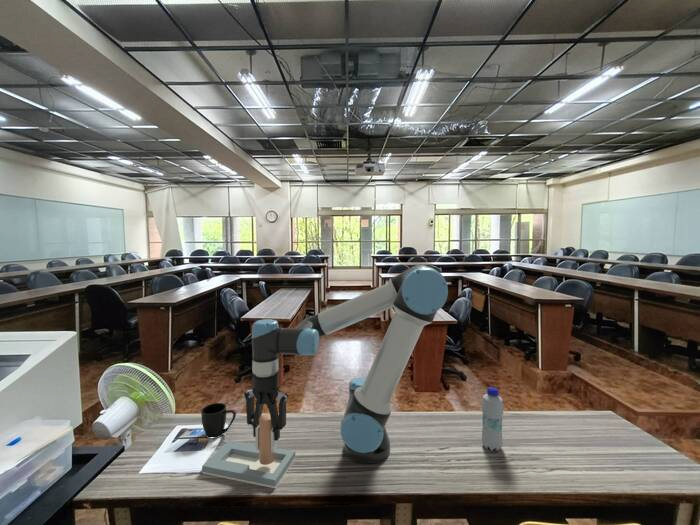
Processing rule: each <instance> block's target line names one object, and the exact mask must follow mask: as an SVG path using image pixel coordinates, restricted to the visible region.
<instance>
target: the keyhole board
mask: <svg viewBox="0 0 700 525" xmlns="http://www.w3.org/2000/svg"><path fill="white" fill-rule="evenodd" d="M274 458H275V459H274V461H273V462H272V463H271V464H268V465H263V464H261V463H260V462H259V449H258V450H256V443H255V444H253V443H248V442H243V441H237V440H236V441H235V440H228V441H227V442H226V443H224V444H223V445H222V447H220V448H219V449H218V450H217V451H216V452H215V453H214V454H213V455H212V456H211V457H210V458H209V459H208V460H207V461H205V462H204V463H203V465H202V466H201V467H202V468H201V470H202V472H201V474H203V475H207V476H208V475H209V476H214V477H217V478H223V479H227V480H233V481H237V482H240V483H241V482H243V483H246V484H247V483H248V484H252V485H256V486H262V487H267V488H271V489H277V487H278V486H279V484H280V483H281V481H282V480H283V478H284V477H285V475H286V473H287V472H288V471H289V469H290V467H291V466H292V465H293V463H294V461H295V460H296V450H290V449H284V448H279V447H277V449H276V450H275V451H274Z"/></svg>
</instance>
